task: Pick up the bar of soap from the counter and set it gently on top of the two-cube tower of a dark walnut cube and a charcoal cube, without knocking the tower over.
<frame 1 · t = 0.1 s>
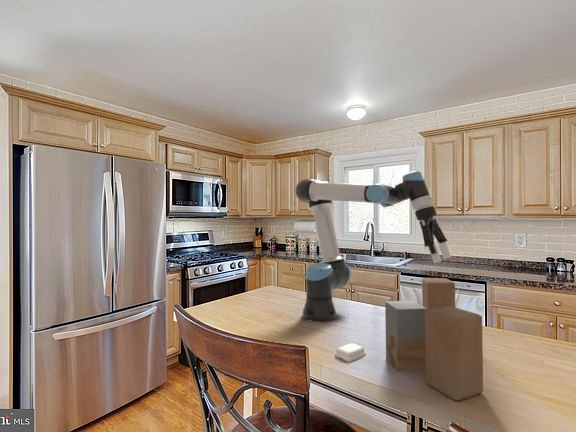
hand: (442, 260, 125), 28 cm above the table, tool tilted 20°, fingers open, 13 cm apart
soap: (350, 356, 106), on the table
block: (453, 389, 84), on the table
wooden block: (438, 331, 127), on the table
walnut base cube: (405, 364, 99), on the table, touching charcoal top cube
charcoal top cube: (405, 334, 99), point 9 cm above the table, touching walnut base cube
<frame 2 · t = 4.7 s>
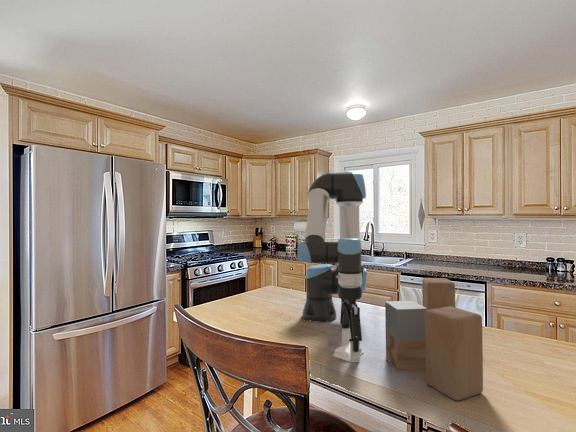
hand: (350, 354, 106), 0 cm above the table, tool pointing down, fingers open, 10 cm apart
soap: (348, 356, 106), on the table, touching gripper
everything else where it was.
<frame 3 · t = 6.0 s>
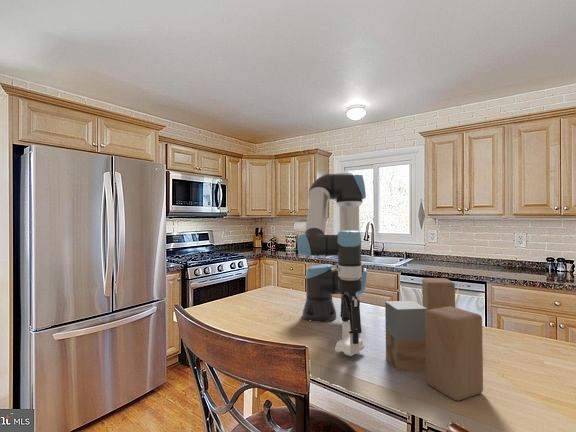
hand: (350, 346, 106), 3 cm above the table, tool pointing down, fingers closed on soap, 9 cm apart
soap: (349, 349, 106), point 2 cm above the table, touching gripper
everything else where it was.
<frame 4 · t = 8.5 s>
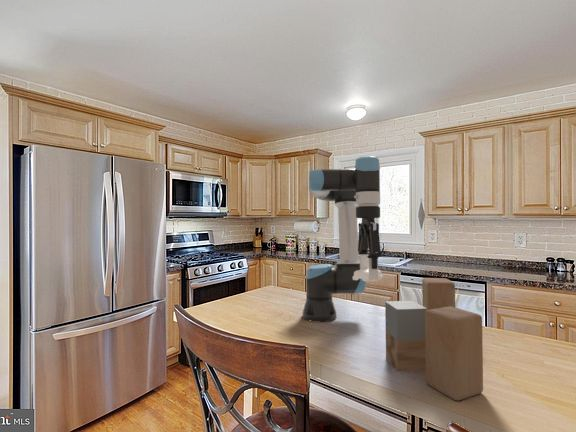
hand: (368, 276, 103), 26 cm above the table, tool pointing down, fingers closed on soap, 9 cm apart
soap: (367, 279, 103), point 25 cm above the table, touching gripper
everything else where it was.
when the fingers open (20 cm above the table, at t = 11.3 s): soap drops 1 cm, resting on charcoal top cube.
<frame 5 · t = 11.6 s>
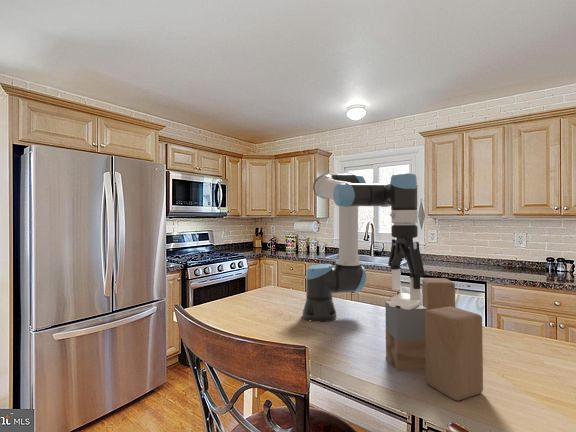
hand: (405, 294, 99), 21 cm above the table, tool pointing down, fingers open, 13 cm apart
soap: (404, 305, 99), point 18 cm above the table, touching charcoal top cube
charcoal top cube: (405, 334, 99), point 9 cm above the table, touching soap, walnut base cube
everything else where it was.
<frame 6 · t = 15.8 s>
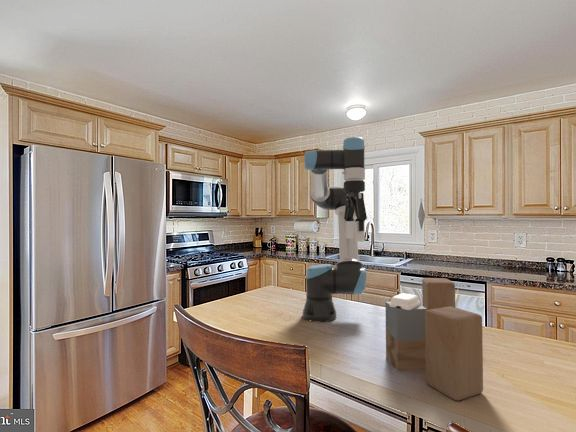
hand: (354, 239, 117), 37 cm above the table, tool pointing down, fingers open, 13 cm apart
nothing on the table moved.
at the end: soap 0.2 cm off-centre on the charcoal top cube, point 8.8 cm above the charcoal top cube's base; charcoal top cube 0.0 cm off-centre on the walnut base cube, point 9.0 cm above the walnut base cube's base; charcoal top cube tilted 0° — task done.
